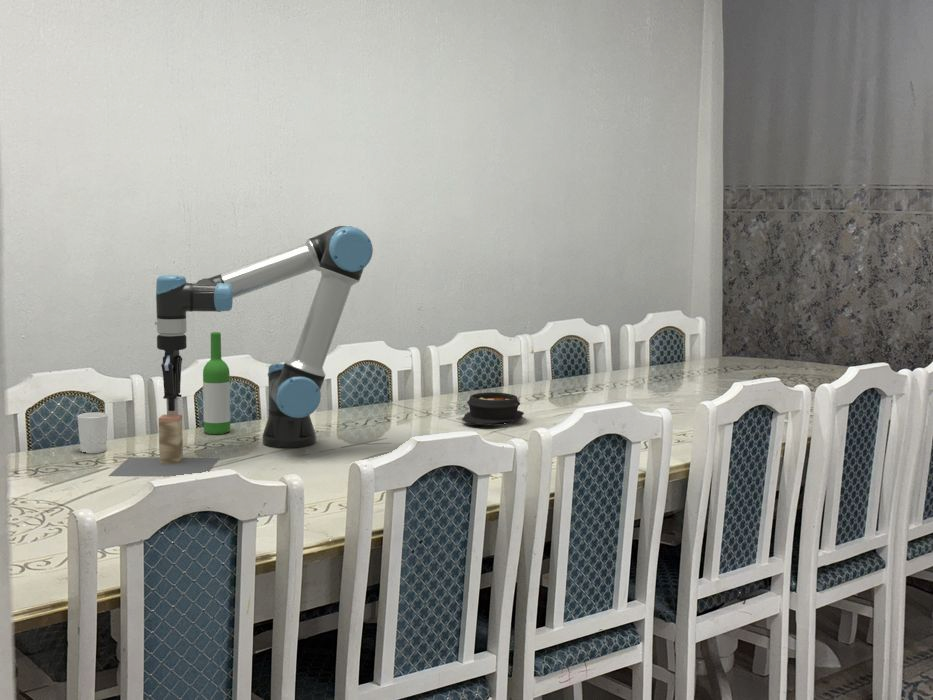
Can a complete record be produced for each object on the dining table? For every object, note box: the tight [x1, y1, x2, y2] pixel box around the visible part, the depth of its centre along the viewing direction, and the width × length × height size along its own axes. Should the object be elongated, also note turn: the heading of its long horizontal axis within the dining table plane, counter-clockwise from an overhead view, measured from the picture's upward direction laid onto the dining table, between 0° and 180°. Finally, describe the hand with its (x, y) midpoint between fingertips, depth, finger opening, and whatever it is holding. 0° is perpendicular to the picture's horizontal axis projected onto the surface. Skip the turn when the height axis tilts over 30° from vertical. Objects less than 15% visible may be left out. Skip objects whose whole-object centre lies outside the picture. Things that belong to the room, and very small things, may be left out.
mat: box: [108, 456, 221, 478], centre depth 280 cm, size 24×20×1 cm
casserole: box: [461, 391, 525, 425], centre depth 346 cm, size 25×19×8 cm
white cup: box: [77, 412, 109, 454], centre depth 297 cm, size 8×8×10 cm
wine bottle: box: [202, 331, 231, 435], centre depth 321 cm, size 8×8×30 cm
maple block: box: [158, 413, 184, 463], centre depth 285 cm, size 5×5×12 cm
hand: (172, 422), depth 288 cm, fingers closed
